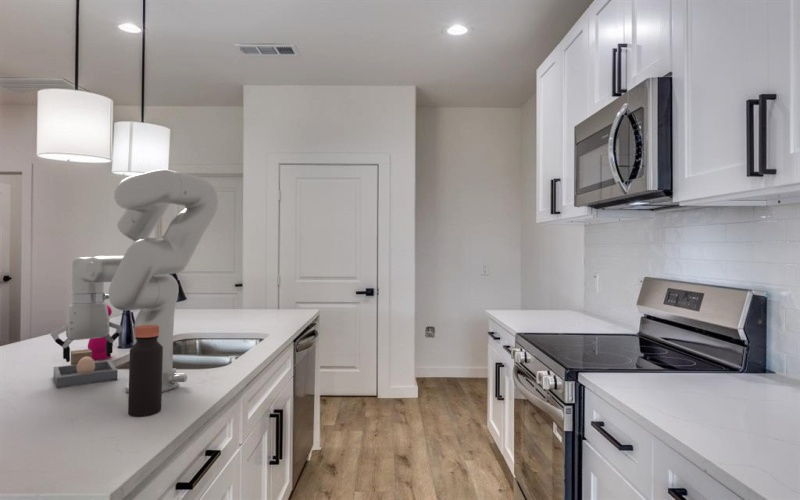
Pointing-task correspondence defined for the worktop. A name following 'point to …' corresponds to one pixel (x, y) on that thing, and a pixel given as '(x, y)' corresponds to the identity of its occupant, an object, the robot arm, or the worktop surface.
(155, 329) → the bottle
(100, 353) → the pepper mill
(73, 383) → the dish
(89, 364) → the egg
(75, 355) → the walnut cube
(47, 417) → the worktop surface
